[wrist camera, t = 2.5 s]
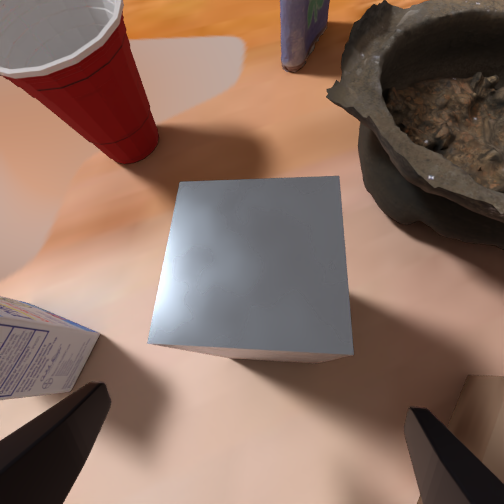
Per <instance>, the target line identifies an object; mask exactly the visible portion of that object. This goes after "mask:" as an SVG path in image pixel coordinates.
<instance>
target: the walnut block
mask: <svg viewBox="0 0 504 504" xmlns="http://www.w3.org/2000/svg"><path fill="white" fill-rule="evenodd" d="M447 428H448V429H449V430H450V431H451V432H452V433H453V434H454V435H455V436H456V437H457V438H458V439H459V440H460V441H461V442H462V443H463V444H464V445H465V446H466V447H467V448H468V449H469V450H470V451H471V452H472V453H473V454H474V455H475V456H476V457H477V458H478V459H479V460H480V461H481V462H482V463H483V464H484V465H485V466H486V467H488V468H489V469H490V470H491V471H492V472H493V473H494V474H495V475H496V476H497V477H498V478H499V479H500V480H501V481H502V482H503V483H504V376H479V375H468V376H467V379H466V381H465V384H464V386H463V389H462V391H461V394H460V397H459V399H458V402H457V404H456V407H455V409H454V412H453V414H452V417H451V419H450V422H449V424H448V427H447ZM417 504H423V502H422V499H421V495H420V497H419V500H418V502H417Z"/></svg>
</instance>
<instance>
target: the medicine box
mask: <svg viewBox="0 0 504 504" xmlns="http://www.w3.org/2000/svg"><path fill="white" fill-rule="evenodd" d="M99 335H100V334H99V333H98V332H96V331H93V330H91V329H88V328H86V327H84V326H81V325H79V324H77V323H74V322H72V321H70V320H67V319H65V318H62V317H60V316H58V315H55V314H53V313H51V312H48V311H46V310H43V309H41V308H39V307H36V306H34V305H31V304H29V303H26V302H22V301H17V300H13V299H10V298H5V297H1V296H0V400H6V399H14V398H23V397H31V396H40V395H48V394H56V393H64V392H70V391H71V390H72V388H73V386H74V384H75V382H76V380H77V378H78V376H79V374H80V372H81V370H82V368H83V366H84V365H85V363H86V361H87V359H88V357H89V355H90V353H91V351H92V349H93V347H94V345H95V343H96V341H97V339H98V337H99Z"/></svg>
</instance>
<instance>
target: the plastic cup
mask: <svg viewBox="0 0 504 504" xmlns="http://www.w3.org/2000/svg"><path fill="white" fill-rule="evenodd" d="M123 6H124V4H123V0H0V76H3V77H4V78H6V79H8V80H10V81H11V82H12V83H14V84H15V85H16V86H18V87H21V88H22V89H23V90H24V91H26V92H27V93H28V94H29V95H31V96H32V97H33V98H36V99H37V100H39V101H40V102H41V103H42V104H43V105H45V106H46V107H47V108H48V109H50V110H51V111H52V112H54V114H56V115H57V116H58V117H60V118H61V119H62V120H63V121H64V122H66V123H67V124H68V125H69V126H70V127H72V128H73V129H74V130H75V131H77V132H78V133H79V134H80V135H82V136H83V137H84V138H85V139H86V140H88V141H89V142H91V143H93V144H94V145H95V146H96V147H97V148H99V149H100V150H101V151H102V152H103V153H105V154H106V155H107V156H108V157H109V158H110V159H113V160H114V161H116V162H119V163H123V164H127V163H135V162H137V161H139V160H142V159H144V158H145V157H147V156H148V155H149V154H150V153H152V152H153V150H154V149H155V147H156V145H157V144H158V138H159V135H158V130H157V127H156V124H155V122H154V119H153V116H152V113H151V111H150V105H149V102H148V99H147V96H146V93H145V90H144V87H143V84H142V81H141V78H140V75H139V73H138V70H137V67H136V64H135V61H134V58H133V55H132V52H131V49H130V43H129V40H128V37H127V34H126V27H125V24H124V21H123V18H124V17H123V14H122V13H123V11H122V10H123Z"/></svg>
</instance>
